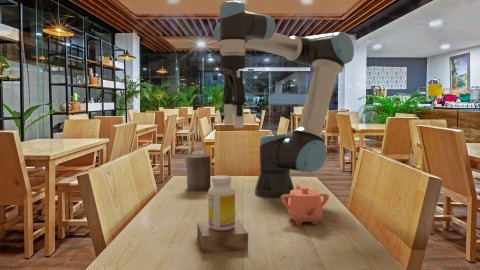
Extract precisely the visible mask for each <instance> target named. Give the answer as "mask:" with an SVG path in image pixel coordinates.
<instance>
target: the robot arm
mask: <svg viewBox="0 0 480 270" xmlns="http://www.w3.org/2000/svg"><path fill="white" fill-rule="evenodd" d="M245 5H246V4H245V3H244V2H242V1H240V0H239V1H238V0H229V1H224V2H222V3H221V4H220V6H219V16H218V19H219V23H217V24H216V25H215V27H214V30H213V31H214V32H213V34H214V38H215V41H217V42H218V48H220V50H219V51H220V53H219V54H220V55H221V56H220V58H219V59H220V61H219V62H220V63H219V65H220V66H219V67H220V69H221V70H226V72H224V73H223V74H224V75H223V76H224V81H223V93H222V102H223V105H224V107H223V108H224V113H223V114H224V125H225V126H229V125H231V126H232V125H233V129H242V128H243V129H244V126H245V125H244V124H245V123H244V121H245V120H244V114H245V113H244V112H245V111H244V105H245V103H246V102H247V101H246V93H245V87H244V79H243V77H244V76H243V70H244V69H246V56H245V55H246V48H249V49H252V50H256V51H260V52H261V51H262V52H266V53H270V54H273V55H277V56H280V57H281V56H282V57H284V58H285V59H286V60H287V61H291V62H294V63H299V64H302V65H308V66H312V67H313V68H314V70H313V74H312V77H311V82H310V83H309V84H310V85H309V88H308V91H307V95H306V98H305V102H304V106H303V110H302V112H301V113H302V114H301V116H300V120H299V123H298V127H297V128H296V129H293V130H292V131H291V132H292V133H291V134H290V133H281V134H280V133H279V134H269V135H267V134H266V135H262V136H261V137H260V141H259V175H258V178H257V181H256V184H255V187H254V193H255V195H257V196H261V197H266V198H281V196H282V195H285V194H290V191H291V190H295V187H294V183H293V180H292V176H291V171H295V172H296V171H297V172H301V173H316V172H318V170H320V169H321V168H323V166H324V165H325V163H326V161H327V157H328V156H327V154H328V151H327V150H328V149H327V146H326V143H324V140H325V138H324V136H323V135H322V132H323V129H324V125H325V120H326V117H327V113H328V111H329V107H330V102H331V100H332V95H333V92H334V88H335V84H336V82H337V81H336V80H337V77H338V74H341V73H342V72H343V70H344V67H345V64H349V63H350V62H352V60H354V59H353V58H354V56H355V48H354V44H353V40H352V38H351V36H350V35H349V34H348V33H346V32H344V31H343V32H342V31H333V32H330V33H329V32H328V33H323V34H316V35H309V36H297V35H292V36H287V35H285V34H282V33H277V32H276V21H275V20H274V18H273V17H272V16H270V15H267V14H264V13H263V14H261V13H255V12H250V11H246V6H245Z"/></svg>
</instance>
